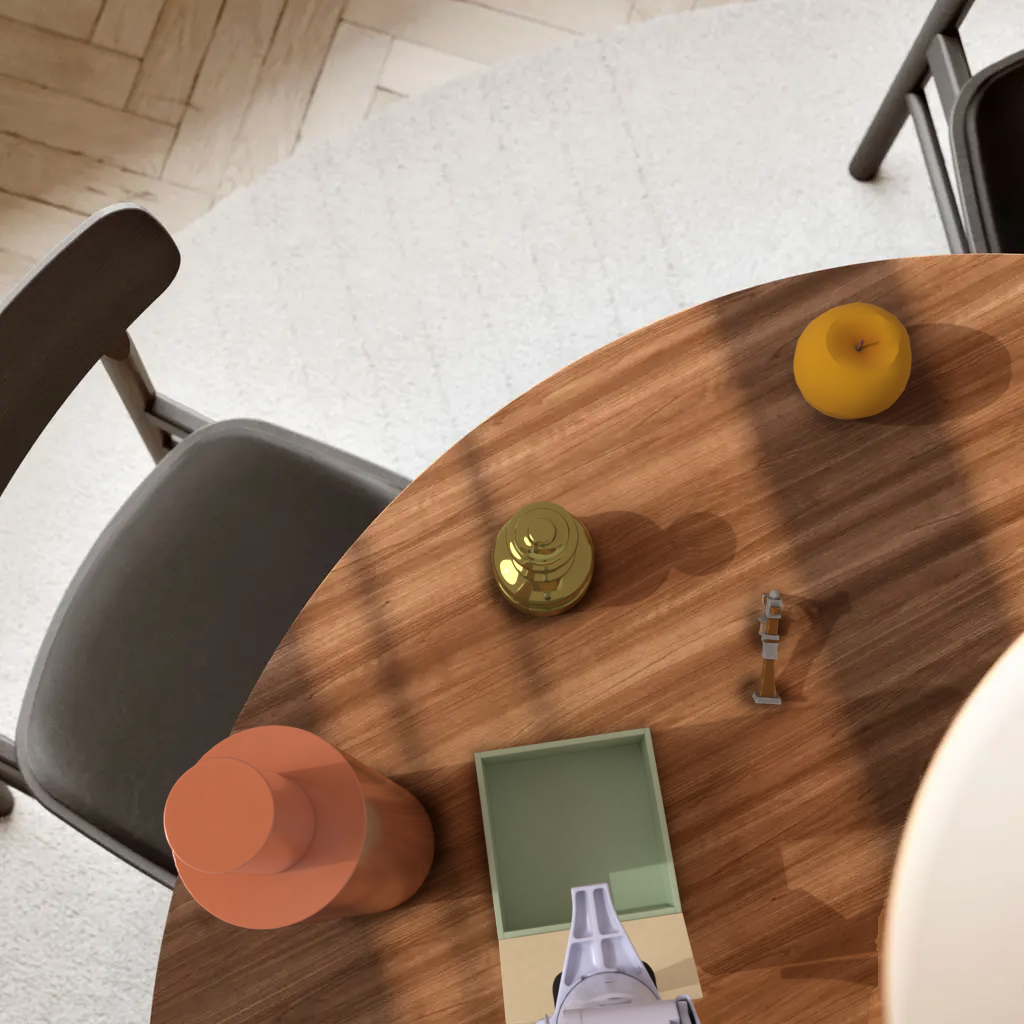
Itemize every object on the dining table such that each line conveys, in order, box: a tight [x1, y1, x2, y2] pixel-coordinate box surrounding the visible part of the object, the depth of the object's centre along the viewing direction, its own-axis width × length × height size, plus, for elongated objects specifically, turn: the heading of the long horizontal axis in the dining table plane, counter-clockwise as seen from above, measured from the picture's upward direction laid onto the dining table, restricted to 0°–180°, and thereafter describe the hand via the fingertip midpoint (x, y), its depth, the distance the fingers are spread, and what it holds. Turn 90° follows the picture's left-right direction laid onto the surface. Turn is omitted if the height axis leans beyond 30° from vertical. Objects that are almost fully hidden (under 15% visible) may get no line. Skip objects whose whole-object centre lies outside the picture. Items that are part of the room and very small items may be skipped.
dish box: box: [473, 726, 683, 941], centre depth 78 cm, size 12×12×6 cm
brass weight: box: [491, 500, 596, 618], centre depth 82 cm, size 7×7×10 cm
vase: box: [163, 724, 436, 930], centre depth 63 cm, size 9×9×38 cm
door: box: [498, 912, 704, 1024], centre depth 71 cm, size 6×12×1 cm
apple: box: [793, 301, 913, 420], centre depth 86 cm, size 8×8×9 cm
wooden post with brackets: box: [751, 589, 783, 705], centre depth 83 cm, size 2×8×4 cm, turn 176°
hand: (605, 1008), depth 69 cm, fingers closed
